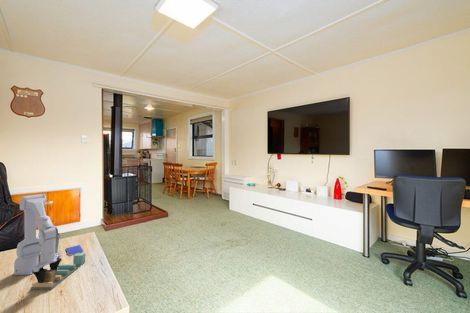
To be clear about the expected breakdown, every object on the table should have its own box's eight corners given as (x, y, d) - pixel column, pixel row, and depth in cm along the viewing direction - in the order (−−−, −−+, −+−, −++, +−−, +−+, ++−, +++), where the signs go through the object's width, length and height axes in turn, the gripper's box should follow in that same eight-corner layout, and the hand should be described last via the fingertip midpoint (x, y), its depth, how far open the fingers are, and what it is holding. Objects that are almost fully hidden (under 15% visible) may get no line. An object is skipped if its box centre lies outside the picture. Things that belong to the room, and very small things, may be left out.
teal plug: (73, 265, 125) (73, 255, 125) (76, 262, 128) (76, 253, 128) (81, 265, 126) (82, 255, 126) (85, 262, 129) (85, 253, 129)
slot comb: (30, 289, 102) (30, 283, 102) (58, 269, 120) (58, 264, 120) (52, 289, 103) (52, 283, 103) (76, 269, 121) (77, 264, 121)
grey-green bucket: (37, 253, 138) (37, 235, 138) (56, 248, 147) (56, 231, 147) (42, 258, 133) (42, 239, 133) (62, 252, 141) (62, 234, 141)
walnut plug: (40, 285, 105) (40, 273, 105) (45, 281, 108) (45, 269, 108) (50, 284, 105) (50, 273, 105) (55, 281, 108) (55, 269, 108)
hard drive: (65, 248, 145) (68, 254, 137) (80, 244, 151) (83, 250, 142) (65, 250, 145) (68, 256, 137) (79, 246, 151) (83, 252, 142)
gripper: (44, 258, 99) (43, 286, 99) (66, 245, 114) (66, 270, 114) (28, 258, 99) (28, 287, 99) (53, 245, 113) (52, 270, 113)
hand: (47, 278), depth 106 cm, fingers open, 7 cm apart
